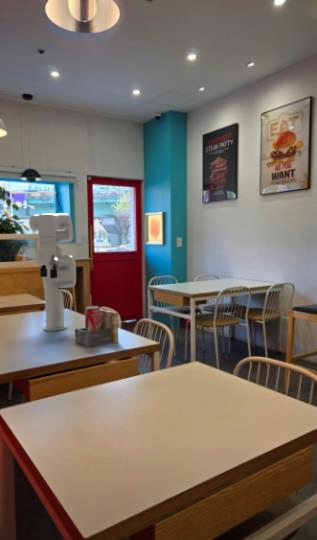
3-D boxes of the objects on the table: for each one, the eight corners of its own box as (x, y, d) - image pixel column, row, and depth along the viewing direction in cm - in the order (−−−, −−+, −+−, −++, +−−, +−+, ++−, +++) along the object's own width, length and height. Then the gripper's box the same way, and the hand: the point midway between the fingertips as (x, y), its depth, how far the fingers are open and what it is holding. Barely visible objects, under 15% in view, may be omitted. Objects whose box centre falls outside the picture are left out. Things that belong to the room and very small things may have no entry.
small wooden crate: (73, 340, 179) (72, 311, 178) (96, 335, 188) (95, 307, 187) (94, 348, 166) (93, 316, 165) (118, 342, 175) (117, 312, 174)
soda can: (102, 332, 179) (101, 305, 178) (98, 336, 172) (98, 308, 171) (88, 332, 180) (87, 305, 179) (83, 336, 173) (82, 308, 172)
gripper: (31, 241, 180) (32, 276, 181) (48, 240, 167) (50, 279, 169) (45, 240, 185) (47, 275, 186) (63, 240, 173) (65, 277, 174)
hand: (48, 277), depth 178 cm, fingers open, 9 cm apart
